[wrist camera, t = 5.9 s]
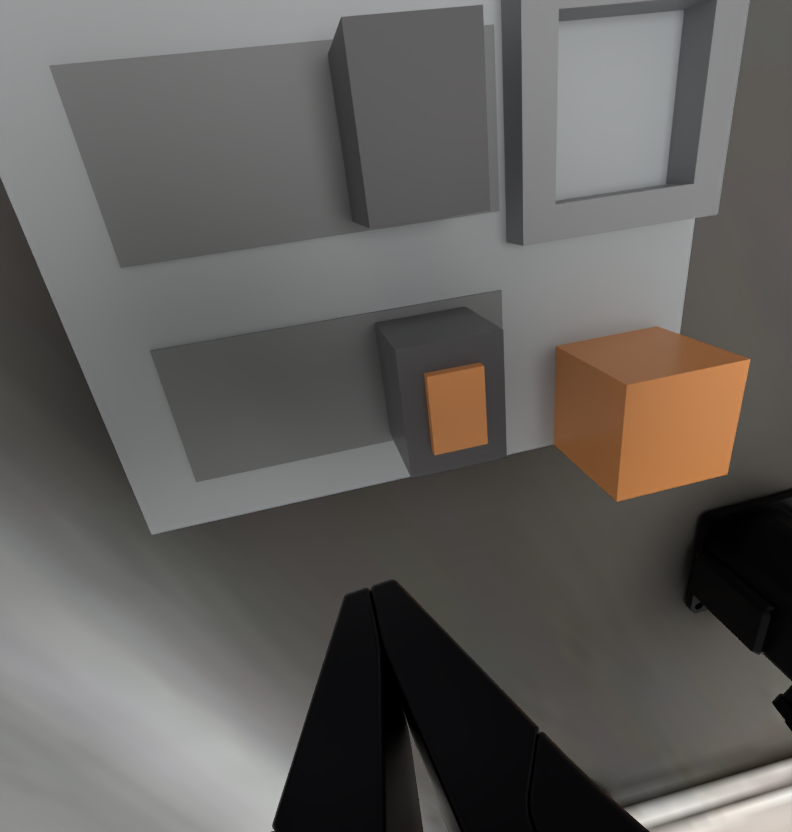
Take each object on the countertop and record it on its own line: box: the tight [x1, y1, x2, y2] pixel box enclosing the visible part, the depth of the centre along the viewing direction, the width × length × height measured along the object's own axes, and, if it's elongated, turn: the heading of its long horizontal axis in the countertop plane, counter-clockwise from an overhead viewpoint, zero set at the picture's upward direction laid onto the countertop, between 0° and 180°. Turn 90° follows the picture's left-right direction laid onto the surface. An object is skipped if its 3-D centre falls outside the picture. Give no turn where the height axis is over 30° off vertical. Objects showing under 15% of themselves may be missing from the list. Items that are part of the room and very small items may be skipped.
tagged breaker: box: [375, 307, 507, 479], centre depth 15 cm, size 3×4×3 cm
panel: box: [0, 0, 750, 535], centre depth 14 cm, size 20×16×5 cm
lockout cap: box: [554, 326, 750, 502], centre depth 17 cm, size 4×4×4 cm
